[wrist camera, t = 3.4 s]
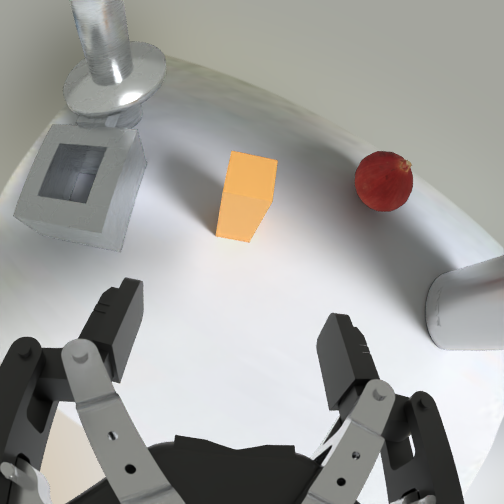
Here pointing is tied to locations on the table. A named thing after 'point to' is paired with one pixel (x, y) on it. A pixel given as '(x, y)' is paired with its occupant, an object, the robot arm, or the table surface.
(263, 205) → the orange block
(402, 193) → the pomegranate
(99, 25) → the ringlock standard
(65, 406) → the table surface
